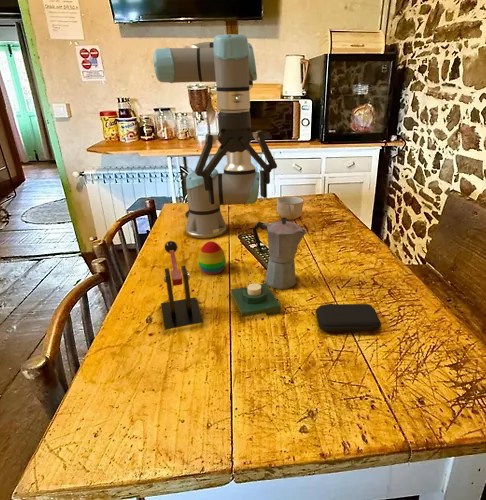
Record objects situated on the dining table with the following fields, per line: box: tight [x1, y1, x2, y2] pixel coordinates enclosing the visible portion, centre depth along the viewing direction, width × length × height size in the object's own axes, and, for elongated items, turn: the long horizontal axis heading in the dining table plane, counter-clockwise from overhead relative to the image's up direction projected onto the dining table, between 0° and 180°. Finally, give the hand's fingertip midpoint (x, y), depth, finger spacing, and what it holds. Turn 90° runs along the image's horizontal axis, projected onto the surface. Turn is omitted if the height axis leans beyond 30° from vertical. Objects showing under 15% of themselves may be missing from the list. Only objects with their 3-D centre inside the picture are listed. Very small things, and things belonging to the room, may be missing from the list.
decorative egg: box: [197, 240, 227, 275], centre depth 119 cm, size 8×8×10 cm
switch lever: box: [164, 240, 183, 287], centre depth 98 cm, size 13×3×3 cm, turn 19°
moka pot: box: [251, 217, 308, 290], centre depth 111 cm, size 10×15×20 cm, turn 78°
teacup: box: [276, 195, 304, 221], centre depth 162 cm, size 14×11×8 cm
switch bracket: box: [160, 265, 204, 331], centre depth 97 cm, size 12×9×13 cm
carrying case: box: [315, 302, 382, 333], centre depth 96 cm, size 11×3×15 cm
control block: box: [230, 283, 281, 318], centre depth 103 cm, size 12×10×4 cm
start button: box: [246, 282, 261, 296], centre depth 102 cm, size 4×4×2 cm
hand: (238, 199), depth 100 cm, fingers open, 13 cm apart
